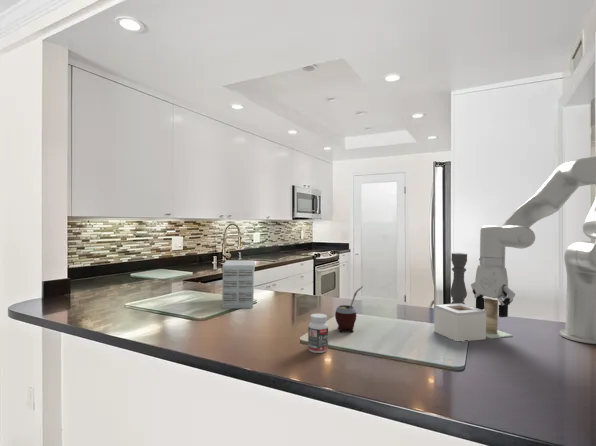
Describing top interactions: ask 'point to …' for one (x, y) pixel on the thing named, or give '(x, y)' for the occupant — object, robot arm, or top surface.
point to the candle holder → (458, 278)
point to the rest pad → (498, 335)
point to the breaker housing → (460, 322)
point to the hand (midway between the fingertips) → (491, 313)
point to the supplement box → (238, 284)
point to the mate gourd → (346, 316)
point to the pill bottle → (318, 333)
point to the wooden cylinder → (491, 315)
